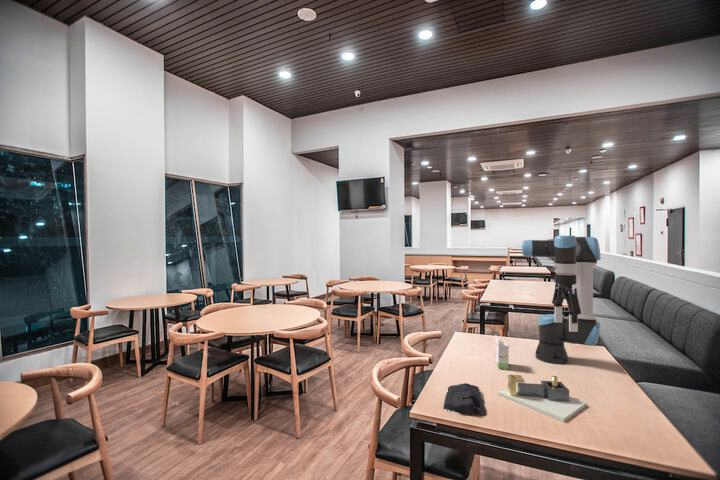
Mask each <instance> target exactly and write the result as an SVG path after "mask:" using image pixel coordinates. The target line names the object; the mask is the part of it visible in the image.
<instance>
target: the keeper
mask: <svg viewBox="0 0 720 480" xmlns="http://www.w3.org/2000/svg"><path fill="white" fill-rule="evenodd" d="M525 381H526V380H525V379H524V377H523V375H521V374H508V375H507V383H508V384H507V386H508V387H507V388H508V392H509V393H510V395H511V396H516V383H518V382H519V383H525Z"/></svg>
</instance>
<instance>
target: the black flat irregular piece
mask: <svg viewBox="0 0 720 480" xmlns="http://www.w3.org/2000/svg"><path fill="white" fill-rule="evenodd" d="M447 389H448V392H447V391H446V393H447V394H445V398H444V403H443V406H444V407H443V406H442V407H443V410H446V409H447V410H450V411H449V412H451V411H455V412H454V413H457V412H458V413H457V414H460V413H461V414H460V415H466V414H468V415H467V416H485V415H486V409H485V405H484V402H483V397H482V393H481V392H480V391H481V390H480V388H479V386H477V385H473V384H471V383H467V382H466V383H459V384H452V385H449V386H448V387H447ZM447 410H446V411H447Z"/></svg>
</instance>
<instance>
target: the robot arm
mask: <svg viewBox="0 0 720 480" xmlns="http://www.w3.org/2000/svg"><path fill="white" fill-rule="evenodd" d="M521 255H523V256H524V257H527V258H554V265H553V268H554V273H555V274H554V292H553V295H552V296H553V297H552V301H551V304H552V305H553V306H554V313H547V314H543V315H540V316H539V318H538V343H537V347H536V350H535V353H534V354H535V355H534V356H535V358H536V359H538V360H540V361H543V362H545V363H549V364H558V365H559V364H561V365H562V364H567V363H569V355H568V353H567V352H568V351H567V350H566V346H565V342H567V343H572V344H578V345H579V344H580V345H583V346H591V347H593V346H596V345H597V344H598V340H599V335H600V330H601V329H600V328H601V323H600V322H598V321H597V318H596V316H594V267H595V266H596V265H597V264H598V261H601V257H602V256H601V249H600V244H599V240H598V239H597V238H596V237H594V236H575V235H556V236H555V237H553V238H547V239H537V240H536V239H533V240H532V239H528V240H527V239H526V240H523V241H522V242H521ZM564 300H565V301H566V304H567V307H568V310H569V312H568V318H566V317H565V315H563V307H564V305H563V303H564Z"/></svg>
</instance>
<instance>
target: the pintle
mask: <svg viewBox="0 0 720 480" xmlns="http://www.w3.org/2000/svg"><path fill="white" fill-rule="evenodd" d="M551 381H552V387H553V388H558V382H559V380H558V376H556V375H552V376H551Z"/></svg>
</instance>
